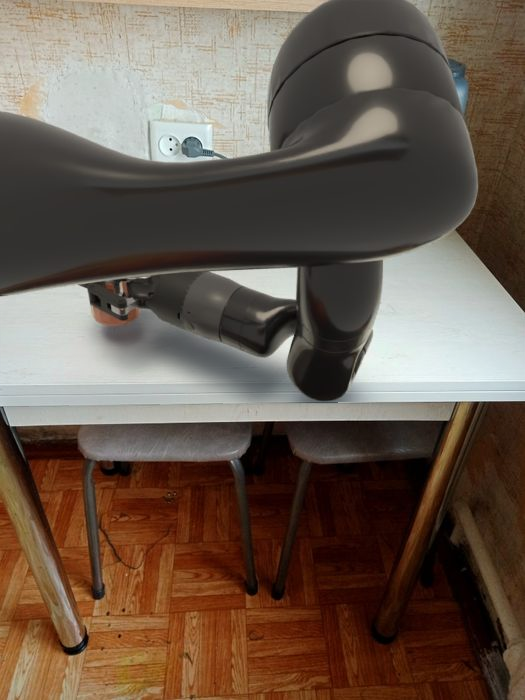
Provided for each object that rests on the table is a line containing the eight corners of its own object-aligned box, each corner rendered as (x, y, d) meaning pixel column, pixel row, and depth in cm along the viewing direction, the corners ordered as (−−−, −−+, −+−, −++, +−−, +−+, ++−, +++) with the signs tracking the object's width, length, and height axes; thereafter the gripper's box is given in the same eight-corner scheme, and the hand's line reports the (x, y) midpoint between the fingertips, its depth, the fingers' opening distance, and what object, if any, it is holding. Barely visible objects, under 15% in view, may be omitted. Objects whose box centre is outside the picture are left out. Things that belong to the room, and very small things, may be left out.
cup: (102, 331, 66) (91, 271, 60) (85, 306, 70) (74, 248, 64) (148, 317, 69) (142, 258, 63) (129, 294, 73) (122, 237, 67)
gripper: (235, 250, 63) (130, 215, 69) (163, 305, 53) (46, 258, 59) (234, 301, 68) (135, 264, 73) (167, 360, 58) (59, 312, 63)
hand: (96, 262), depth 66 cm, fingers closed on cup, 6 cm apart
